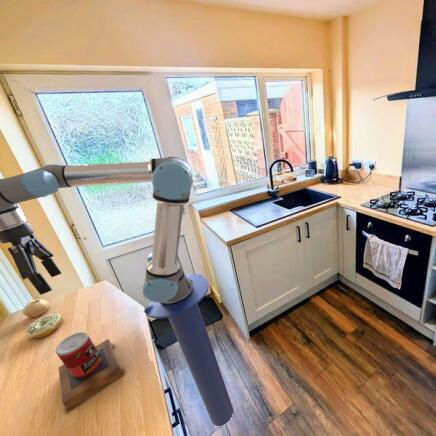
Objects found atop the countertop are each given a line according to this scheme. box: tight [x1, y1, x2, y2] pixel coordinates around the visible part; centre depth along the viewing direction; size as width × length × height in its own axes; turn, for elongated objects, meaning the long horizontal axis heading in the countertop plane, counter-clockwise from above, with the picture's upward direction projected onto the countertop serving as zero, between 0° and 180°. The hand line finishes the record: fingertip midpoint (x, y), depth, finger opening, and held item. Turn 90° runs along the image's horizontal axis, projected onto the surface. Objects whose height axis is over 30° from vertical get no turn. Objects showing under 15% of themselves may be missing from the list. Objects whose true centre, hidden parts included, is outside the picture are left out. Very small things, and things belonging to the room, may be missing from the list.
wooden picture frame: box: [58, 338, 124, 411], centre depth 79 cm, size 14×16×4 cm
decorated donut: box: [25, 313, 63, 339], centre depth 99 cm, size 10×11×4 cm
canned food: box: [55, 331, 101, 378], centre depth 76 cm, size 8×8×11 cm
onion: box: [22, 297, 50, 318], centre depth 108 cm, size 8×8×7 cm
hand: (52, 283), depth 82 cm, fingers open, 13 cm apart
